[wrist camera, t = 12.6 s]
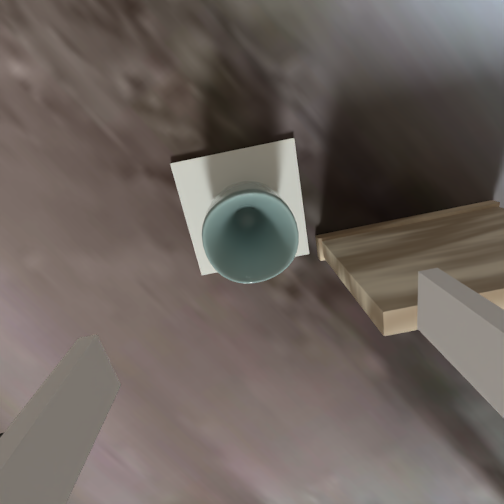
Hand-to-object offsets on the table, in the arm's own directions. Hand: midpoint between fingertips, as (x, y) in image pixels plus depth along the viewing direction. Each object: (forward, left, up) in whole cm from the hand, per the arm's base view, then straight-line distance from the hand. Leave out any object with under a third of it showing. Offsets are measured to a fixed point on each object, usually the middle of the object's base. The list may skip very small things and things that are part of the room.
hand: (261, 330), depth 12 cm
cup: (0, 0, -22) cm, 22 cm away
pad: (0, 0, -22) cm, 22 cm away
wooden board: (+6, +18, -22) cm, 29 cm away
